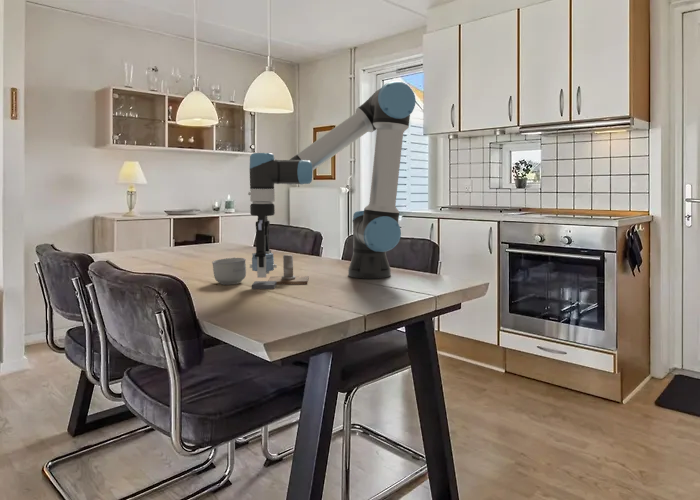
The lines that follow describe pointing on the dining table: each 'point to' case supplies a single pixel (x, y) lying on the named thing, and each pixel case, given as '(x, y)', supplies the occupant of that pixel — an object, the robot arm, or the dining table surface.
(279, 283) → the post board
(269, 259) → the cap
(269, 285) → the coaster
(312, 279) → the dining table surface
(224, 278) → the teacup
